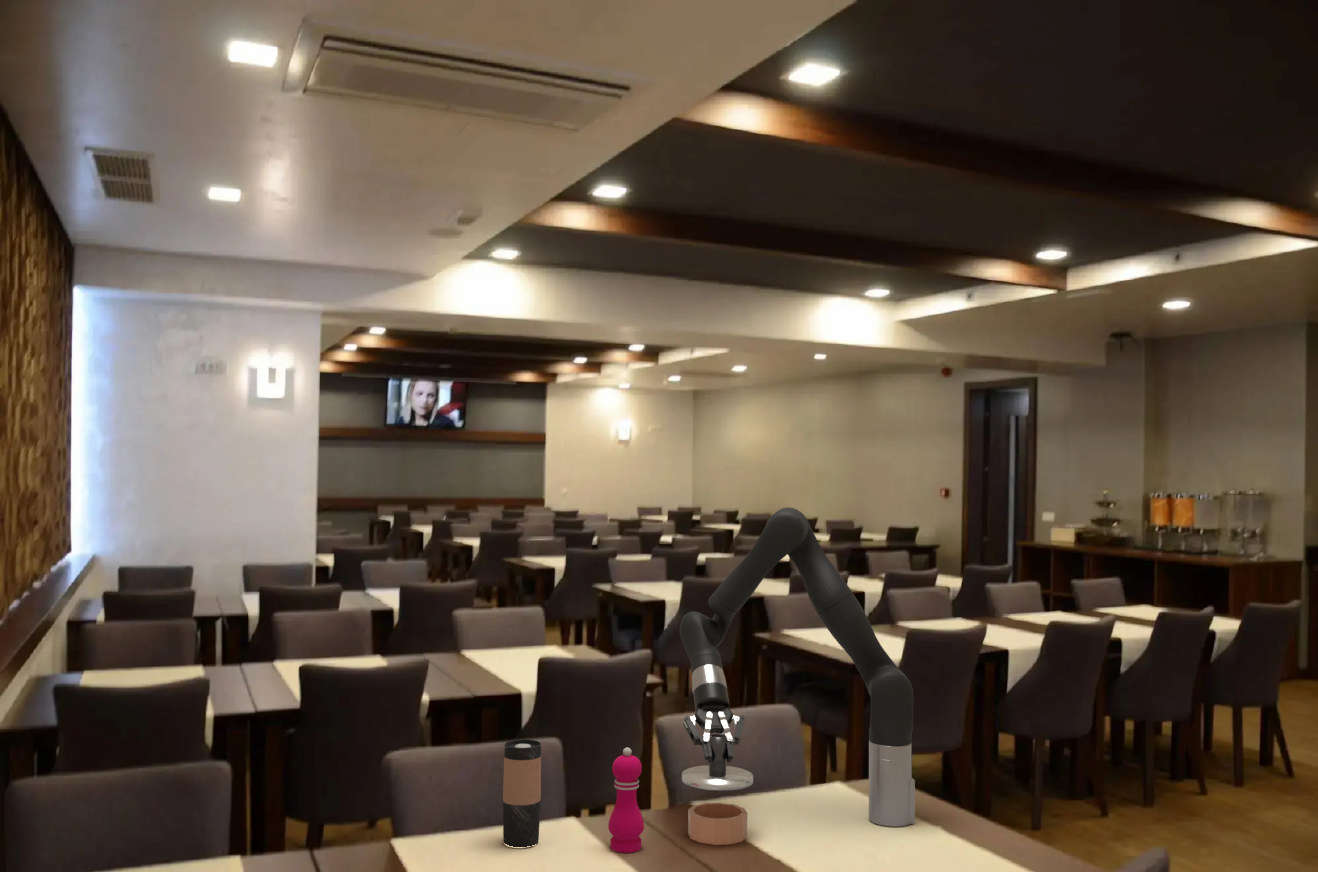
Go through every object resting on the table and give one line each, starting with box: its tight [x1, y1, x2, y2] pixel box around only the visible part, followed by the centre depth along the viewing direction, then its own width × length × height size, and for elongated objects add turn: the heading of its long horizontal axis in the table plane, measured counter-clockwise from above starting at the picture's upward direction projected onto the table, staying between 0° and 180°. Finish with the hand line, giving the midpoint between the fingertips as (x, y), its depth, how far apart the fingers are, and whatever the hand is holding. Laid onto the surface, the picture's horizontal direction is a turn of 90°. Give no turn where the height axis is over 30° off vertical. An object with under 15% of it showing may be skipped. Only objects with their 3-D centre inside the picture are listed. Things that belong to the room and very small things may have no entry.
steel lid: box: [681, 733, 754, 792], centre depth 223 cm, size 15×15×9 cm
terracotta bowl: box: [687, 802, 748, 846], centre depth 222 cm, size 12×12×5 cm
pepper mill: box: [607, 747, 645, 854], centre depth 214 cm, size 7×7×20 cm
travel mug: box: [502, 739, 542, 847], centre depth 216 cm, size 8×8×20 cm
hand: (719, 760), depth 221 cm, fingers closed on steel lid, 3 cm apart
